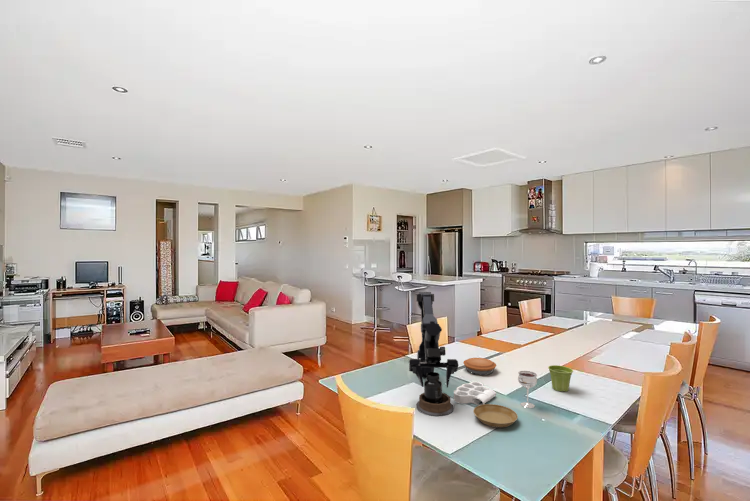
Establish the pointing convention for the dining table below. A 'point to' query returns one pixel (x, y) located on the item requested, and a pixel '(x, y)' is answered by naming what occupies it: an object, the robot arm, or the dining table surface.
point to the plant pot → (560, 377)
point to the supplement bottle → (433, 388)
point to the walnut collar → (435, 406)
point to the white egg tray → (473, 393)
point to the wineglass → (527, 384)
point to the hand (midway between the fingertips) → (435, 386)
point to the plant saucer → (495, 415)
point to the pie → (479, 365)
